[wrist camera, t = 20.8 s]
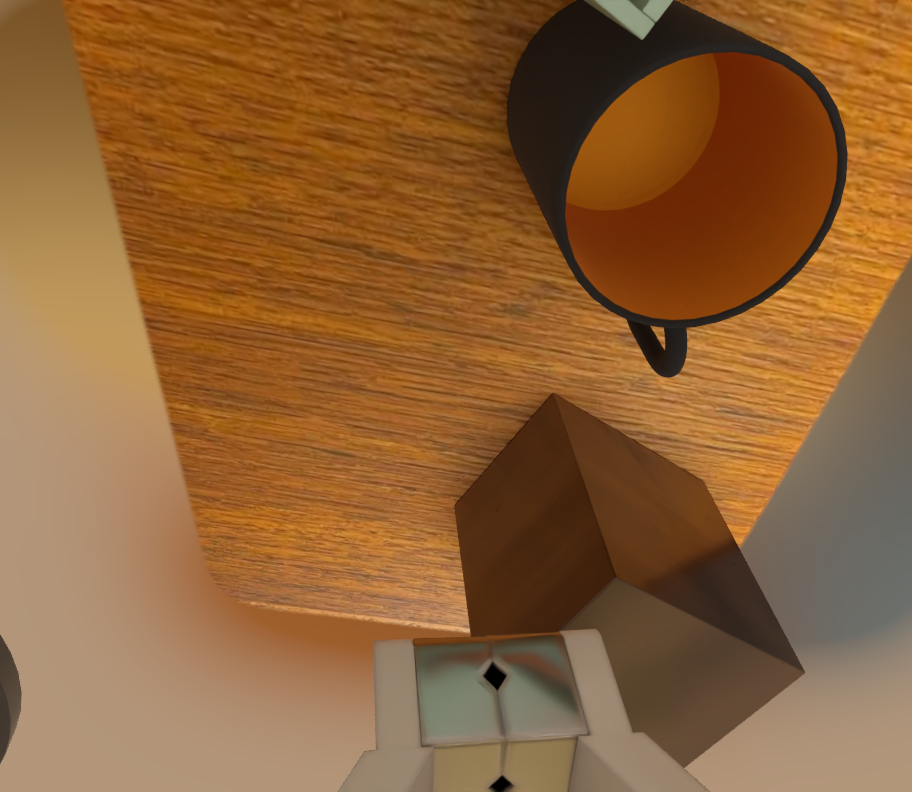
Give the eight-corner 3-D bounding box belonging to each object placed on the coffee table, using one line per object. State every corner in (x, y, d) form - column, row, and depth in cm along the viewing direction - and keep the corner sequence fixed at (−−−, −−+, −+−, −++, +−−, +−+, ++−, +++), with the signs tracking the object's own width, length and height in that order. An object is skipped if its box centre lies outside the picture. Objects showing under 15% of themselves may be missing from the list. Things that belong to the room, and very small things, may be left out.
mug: (519, 303, 37) (566, 444, 28) (497, 3, 30) (549, 64, 21) (708, 278, 37) (813, 409, 28) (727, -27, 30) (871, 21, 22)
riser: (453, 506, 42) (479, 708, 32) (553, 392, 39) (615, 577, 29) (602, 580, 46) (667, 782, 36) (704, 481, 43) (806, 673, 33)
